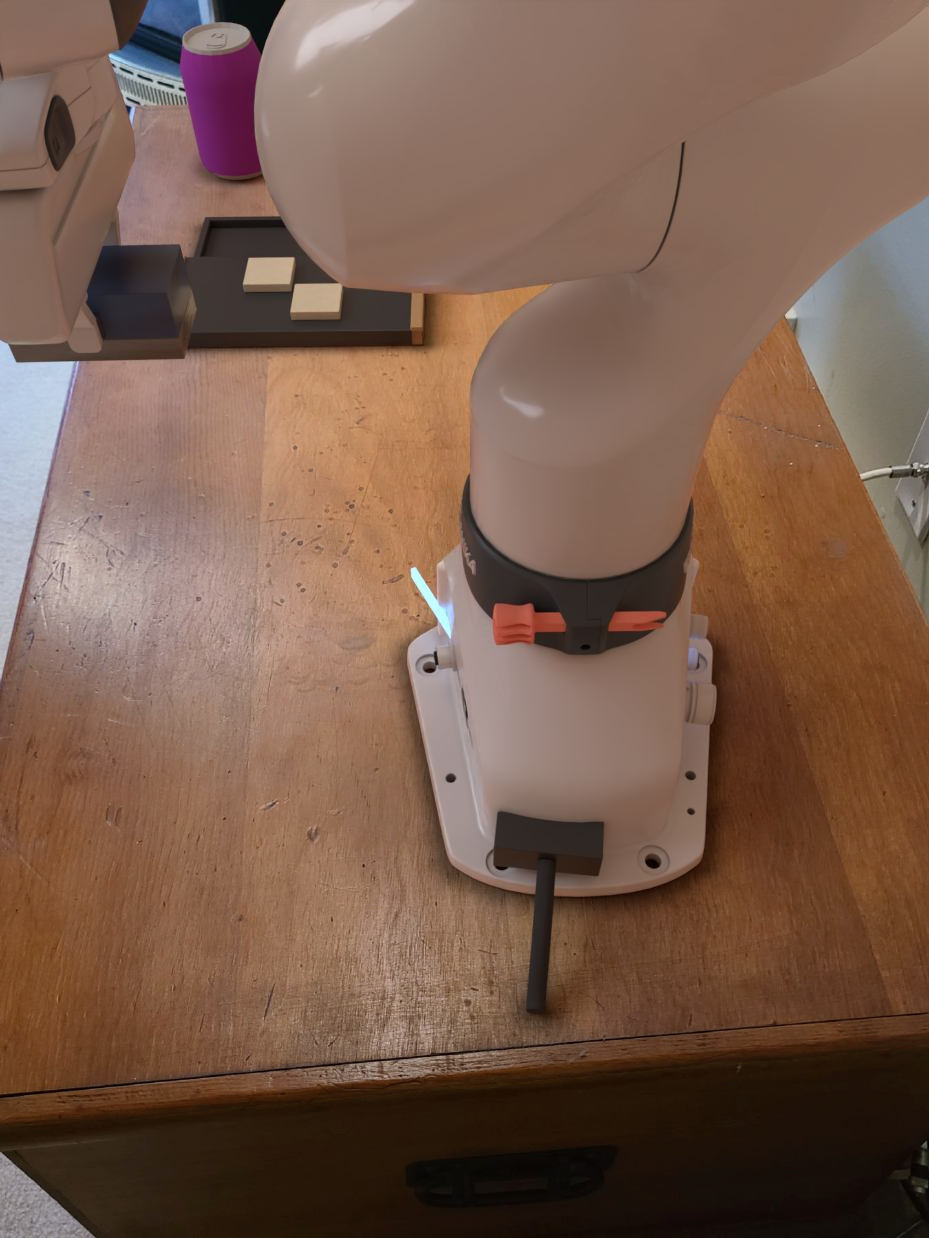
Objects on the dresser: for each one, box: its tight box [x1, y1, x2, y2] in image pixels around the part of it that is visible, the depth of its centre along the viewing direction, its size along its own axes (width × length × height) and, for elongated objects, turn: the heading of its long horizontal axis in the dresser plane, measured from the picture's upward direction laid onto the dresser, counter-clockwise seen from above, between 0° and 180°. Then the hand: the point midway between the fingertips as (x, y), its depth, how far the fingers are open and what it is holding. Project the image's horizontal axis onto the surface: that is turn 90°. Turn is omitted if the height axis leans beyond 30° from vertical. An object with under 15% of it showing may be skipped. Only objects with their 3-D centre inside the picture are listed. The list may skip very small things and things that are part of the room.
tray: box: [193, 215, 308, 257], centre depth 90 cm, size 7×19×1 cm, turn 90°
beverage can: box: [179, 21, 263, 181], centre depth 95 cm, size 8×8×12 cm
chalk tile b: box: [243, 257, 296, 292], centre depth 84 cm, size 4×4×1 cm
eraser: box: [7, 243, 197, 364], centre depth 58 cm, size 5×10×4 cm, turn 91°
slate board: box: [182, 253, 426, 349], centre depth 84 cm, size 11×22×2 cm, turn 91°
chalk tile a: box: [290, 283, 343, 320], centre depth 82 cm, size 4×4×1 cm
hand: (101, 313), depth 59 cm, fingers closed on eraser, 5 cm apart
